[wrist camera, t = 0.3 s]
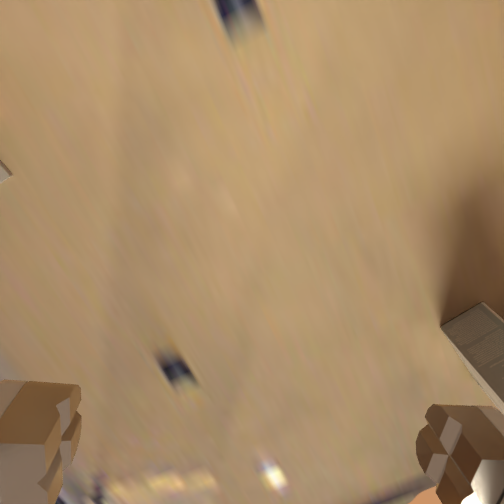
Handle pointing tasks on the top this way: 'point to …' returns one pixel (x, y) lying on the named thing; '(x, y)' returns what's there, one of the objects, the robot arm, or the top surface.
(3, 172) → the test tube rack
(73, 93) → the top surface
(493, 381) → the hard drive box
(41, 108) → the top surface
